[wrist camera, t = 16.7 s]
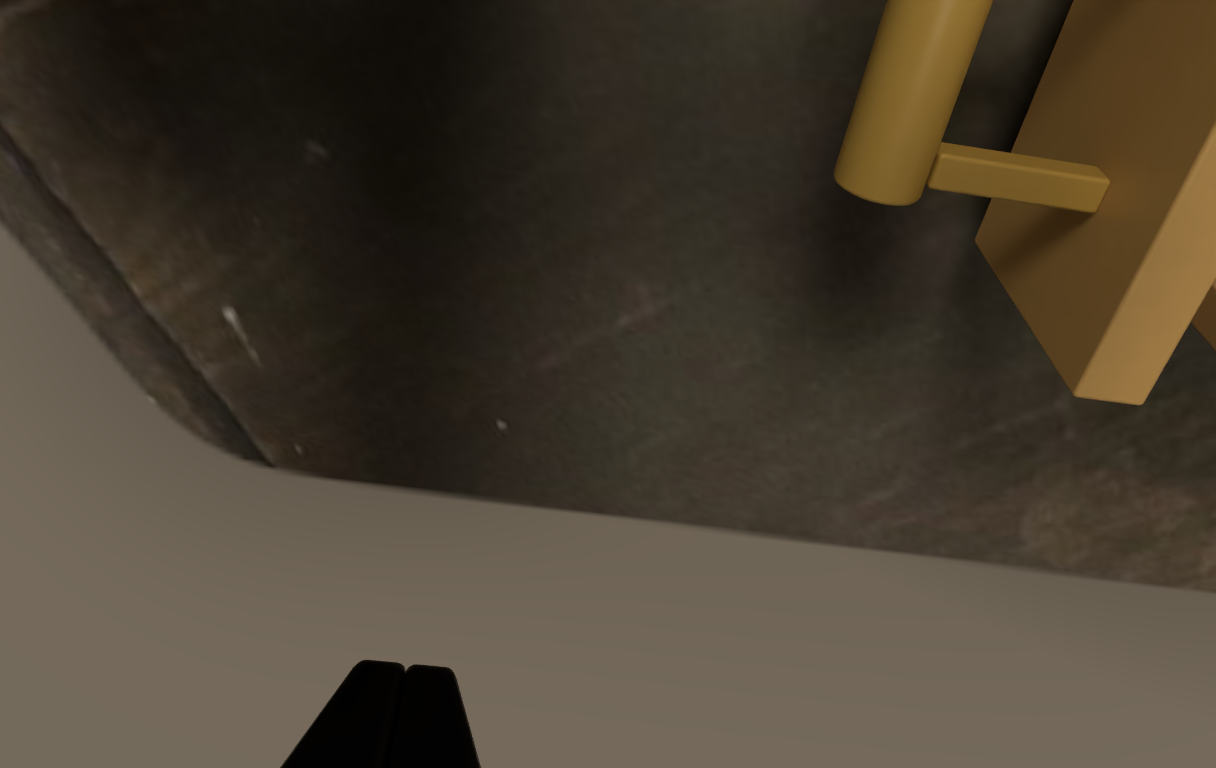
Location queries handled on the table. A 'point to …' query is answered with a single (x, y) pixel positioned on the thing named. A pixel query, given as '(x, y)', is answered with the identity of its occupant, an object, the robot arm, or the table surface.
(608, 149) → the table surface
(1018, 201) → the drawer
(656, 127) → the table surface
